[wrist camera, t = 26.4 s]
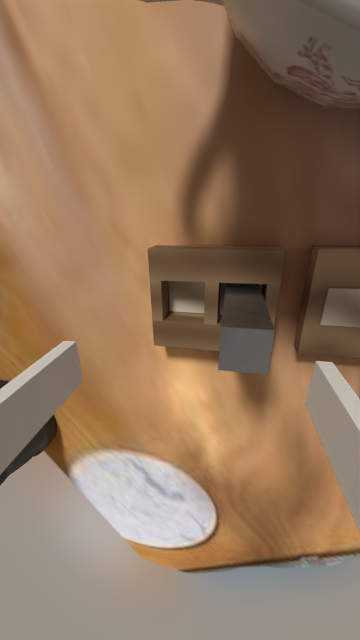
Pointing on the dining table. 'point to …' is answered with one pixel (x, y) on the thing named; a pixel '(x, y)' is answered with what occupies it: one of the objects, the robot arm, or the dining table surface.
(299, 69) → the chamber pot
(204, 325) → the build board
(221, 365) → the pin
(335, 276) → the board
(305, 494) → the dining table surface
